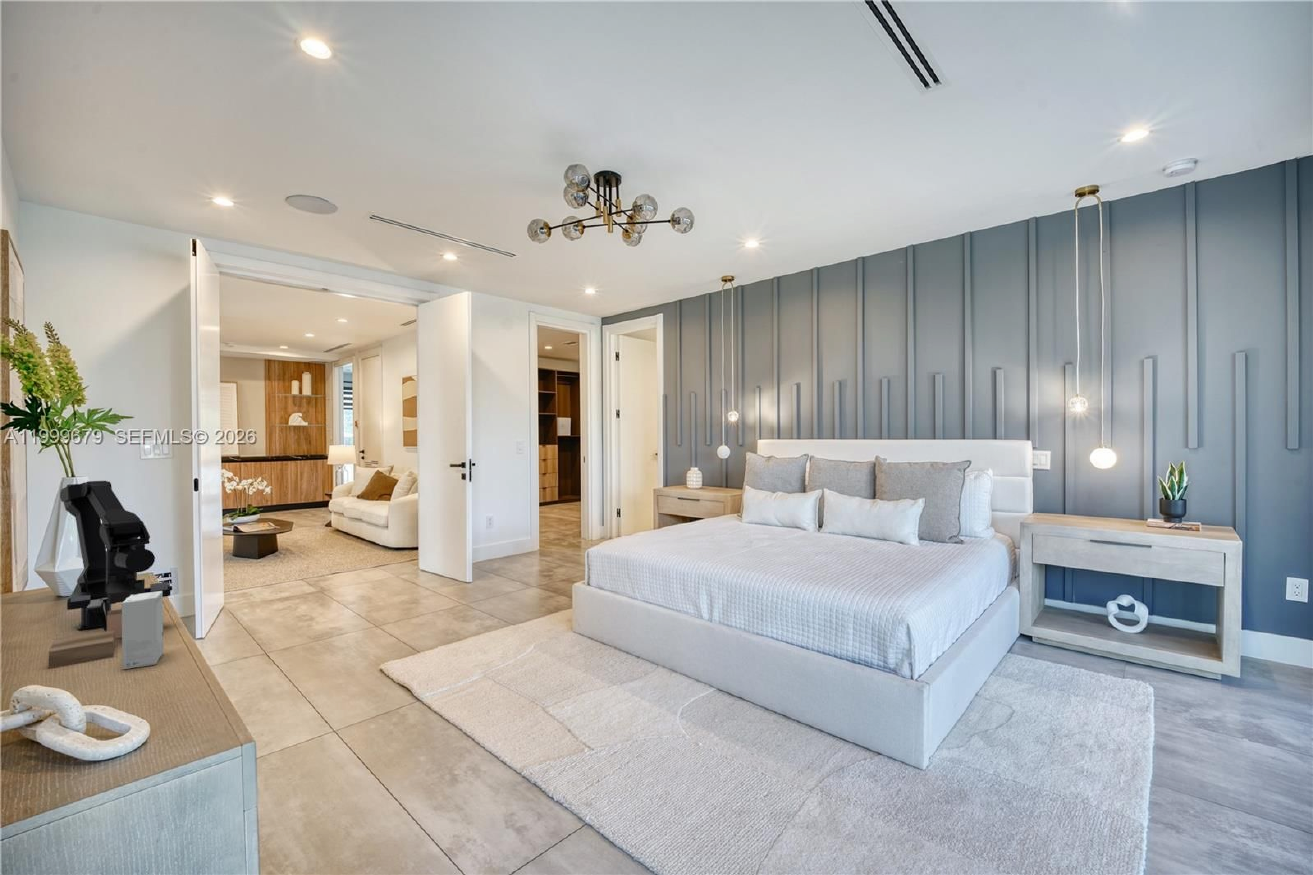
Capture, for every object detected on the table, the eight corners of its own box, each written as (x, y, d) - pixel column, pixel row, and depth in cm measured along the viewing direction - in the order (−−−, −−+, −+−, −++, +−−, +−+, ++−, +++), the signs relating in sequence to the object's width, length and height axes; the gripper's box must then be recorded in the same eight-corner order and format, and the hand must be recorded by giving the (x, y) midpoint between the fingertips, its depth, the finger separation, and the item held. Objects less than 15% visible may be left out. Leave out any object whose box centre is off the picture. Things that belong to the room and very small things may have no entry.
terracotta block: (107, 634, 142) (107, 611, 142) (134, 630, 145) (134, 607, 145) (106, 640, 138) (107, 615, 138) (134, 635, 142) (134, 611, 142)
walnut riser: (53, 656, 128) (54, 639, 128) (114, 646, 135) (114, 629, 135) (48, 670, 121) (48, 651, 121) (112, 658, 128) (113, 641, 128)
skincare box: (156, 665, 124) (157, 598, 124) (119, 671, 120) (120, 602, 120) (163, 652, 131) (164, 589, 131) (129, 658, 127) (129, 592, 127)
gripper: (65, 579, 130) (64, 646, 130) (171, 567, 142) (170, 629, 142) (69, 571, 138) (68, 634, 138) (170, 560, 150) (169, 618, 150)
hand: (120, 629), depth 142 cm, fingers closed on terracotta block, 5 cm apart
